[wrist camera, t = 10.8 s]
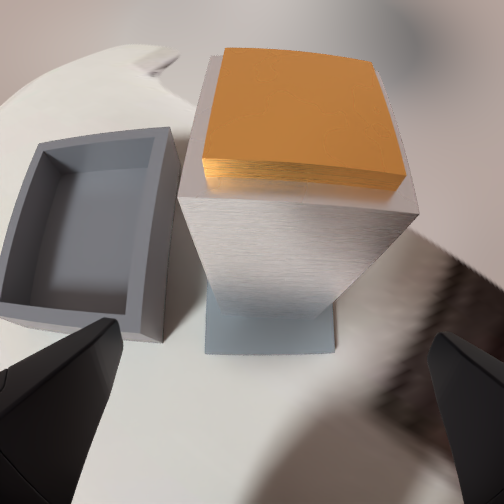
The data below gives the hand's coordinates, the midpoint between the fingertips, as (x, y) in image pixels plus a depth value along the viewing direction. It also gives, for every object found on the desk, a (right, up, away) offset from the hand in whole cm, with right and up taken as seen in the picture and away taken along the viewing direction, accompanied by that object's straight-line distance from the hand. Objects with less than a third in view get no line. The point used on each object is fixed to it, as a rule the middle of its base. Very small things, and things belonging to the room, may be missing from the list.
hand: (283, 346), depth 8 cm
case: (-11, +3, +11) cm, 16 cm away
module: (0, +1, +10) cm, 10 cm away
